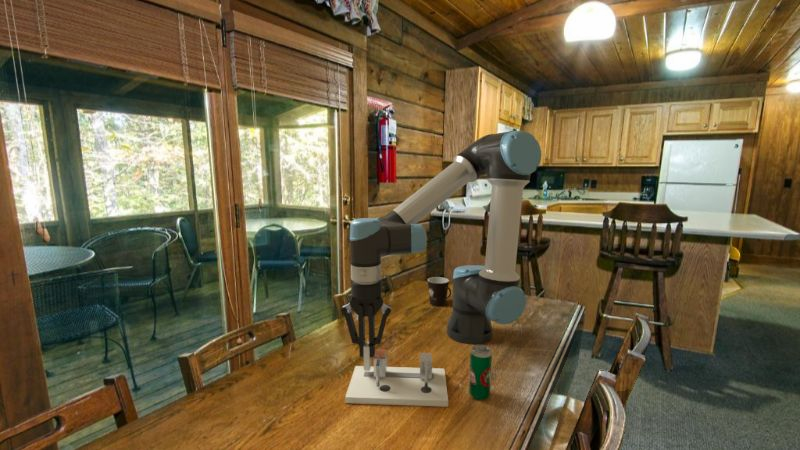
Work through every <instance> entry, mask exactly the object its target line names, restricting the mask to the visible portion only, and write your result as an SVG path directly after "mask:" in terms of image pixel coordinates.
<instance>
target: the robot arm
mask: <svg viewBox="0 0 800 450" xmlns="http://www.w3.org/2000/svg"><path fill="white" fill-rule="evenodd" d="M541 161H542V149H541V145H540V142H539V140H537V139H536V136H534V135H533V134H532V133H530V132H528V131H525V130H508V131H505V132H498V133H491V134H490V133H489V134H486V135H483V136H482V137H479V138H478V139H477V140H475V141H474V142H473V143H470V145H468V146H467V147H465V148H464V149H463V150H462V151H461V152H459V153H458V154H457V155H455V156H454V157H453V162H452V163H451V164H449V165H448V166H447V167H446V168H444V169H443V170H442V171H440V172H439V173H438V174H436V175H435V176H434V177H433V178H432V179H430V180H429V181H428V182H426V183H425V184H424V185H423V186H422V187H420V188H419V189H418V190H417V191H415V192H414V193H412V194H411V195H410V196H409V197H407V198H406V199H404V201H402V202H401V203H400V204H399V205H397V206H396V207H395V208H393V210H391V211H390V212H388V213H387V214H386V215H384V216H378V217H376V218H374V217H368V218H367V217H362V218H360V217H359V218H355V219H353V220H352V221H351V222H350V226H349V229H350V230H349V248H350V249H349V250H350V279H351V282H350V295H351V296H350V297H351V298H350V300H349V302H348V304H347V303H346V304H343V305H342V307H341V309H340V311H341V312H340V313H342V315H343V316H344V318H345V321H346V325H347V329H348V332H349V336H350V340H351V343H352V344H356V345H358V347H359V349H358V350H359V357H360V358H363V366H364V371H370V367H371V366H372V358H374V355H375V351H376V345H380V344H381V343H382V338H383V336H384V332H385V331H384V330H385V326H386V324H387V320H388V317H389V316H390V314H391V313H392V308H393V307H392V306H391V305H390V304H389V305H387V304H386V303H384V299H383V297H382V281H381V279H382V260H381V259H382V257H383V256H395V255H397V256H398V255H408V254H410V255H413V254H416V253H422V252H423V251H425V249H426V247H427V243H428V241H427V239H428V236H427V232H426V229H425V227H424V225H422V224H419V222H420V221H421V220H423V219H424V218H426V217H427V216H428V215H429V214H430V213H431V212H433V211H434V210H436V209H437V207H439V206H440V205H442V204H443V203H444V202H445V201H447V200H448V199H449V198H451V197H452V196H453V195H454V194H455V193H457V192H458V191H459V190H460V189H462V188H463V187H464V186H465V185H467V184H468V183H469V182H470V183H474V182H475V181H477V180H478V179H479V178H482V177H483V176H486V175H487V176H486V180H487V181H488V183H489V184H490V185H491V192H490V202H489V203H490V204H489V213H488V214H489V215H488V224H487V225H488V226H487V239H486V247H485V248H486V250H485V261H484V265H482V264H481V265H480V264H479V265H478V264H477V265H476V264H475V265H474V264H471V265H470V264H469V265H468V264H467V265H461V266H457V267H456V268H455V269H454V270H453V276H452V309H451V310H452V311H451V313H450V316H449V319H448V321H447V324H446V334H447V336H448V337H449V338H450V339H452V340H453V341H456V342H458V343H462V344H463V343H464V344H470V345H480V344H484V343H487V342H490V341H491V340H492V339H493V337H494V328H493V324H492V322H493V323H497V324H498V325H509V324H512V323H514V322H515V321H517V320H518V318H519V317H521V316H522V315H523V313H524V311H525V309H526V307H527V296H526V295H527V294H525V292H524V290H523V289H522V288H521V287H520V281H521V276H520V275H519V274H518V272H516V265H517V256H518V255H517V254H518V247H519V245H518V244H519V236H520V234H519V233H520V224H521V215H522V204H523V194H524V193H523V192H524V188H525V186H527V185H528V184H529V183H530V182H531V181H530V180H531V174H532V173H534V172H536V171H537V168H539V166H540V164H541ZM380 309H381V313H382V317H381V320H380V324H379V328H378V332H377V336H376V328H375V326H376V323H375V322H376V321H375V319H376V317H375V316H376V315H377V313H379V311H380ZM352 310H353V311H354V313H355V314H356V315H357V321H358V332H357V328H356V327H357V326H356V324H355V321H354V320H355V319H354V317H353V313H352ZM366 317H367V319H368V320H367V321H368V341H366Z"/></svg>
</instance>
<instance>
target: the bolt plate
mask: <svg viewBox="0 0 800 450" xmlns="http://www.w3.org/2000/svg"><path fill="white" fill-rule="evenodd" d="M379 378H380V386H379V387H376V377H374V365H373V366H372V365H371V367H370V371H364V365H355V366H354V369H353V372H352V375H351V379H350V381H349V384H348V387H347V391H346V392H345V393H346V394H345V397H344V402H345V404H357V405H358V404H363V405H387V406H388V405H389V406H391V405H393V406H414V407H415V406H419V407H420V406H421V407H445V408H446V407H449V398H448V397H449V396H448V390H447V380H446V371H445V368H440V367H438V368H435V367H432V380H428V388H427V389H426V388H425V379H420V367H410V366H408V367H406V366H405V367H401V366H400V367H399V366H398V367H397V366H387V372H386V377H379Z"/></svg>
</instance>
